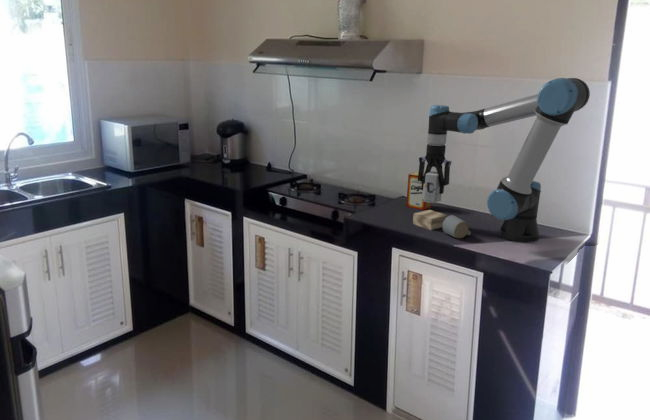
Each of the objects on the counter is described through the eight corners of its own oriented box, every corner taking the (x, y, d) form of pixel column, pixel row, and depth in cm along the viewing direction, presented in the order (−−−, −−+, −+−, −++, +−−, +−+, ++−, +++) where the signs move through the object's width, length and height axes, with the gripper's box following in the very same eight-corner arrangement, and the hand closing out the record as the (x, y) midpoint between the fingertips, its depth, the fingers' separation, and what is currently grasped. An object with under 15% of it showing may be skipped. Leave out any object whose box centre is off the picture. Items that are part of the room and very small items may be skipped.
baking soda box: (431, 207, 259) (433, 174, 254) (424, 210, 254) (427, 176, 249) (413, 204, 264) (415, 171, 260) (406, 206, 259) (408, 173, 255)
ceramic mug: (454, 240, 213) (456, 221, 211) (441, 234, 220) (443, 215, 218) (475, 237, 218) (477, 218, 216) (461, 231, 225) (463, 213, 223)
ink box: (428, 197, 234) (430, 170, 231) (440, 198, 232) (442, 171, 229) (422, 202, 227) (424, 173, 223) (435, 203, 224) (437, 175, 221)
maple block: (446, 226, 231) (447, 215, 230) (430, 230, 225) (431, 219, 224) (428, 220, 239) (429, 209, 238) (412, 224, 233) (413, 213, 232)
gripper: (461, 145, 220) (456, 202, 227) (420, 140, 231) (415, 194, 237) (453, 148, 214) (448, 205, 221) (411, 142, 225) (407, 197, 232)
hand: (431, 199), depth 229 cm, fingers closed on ink box, 6 cm apart
